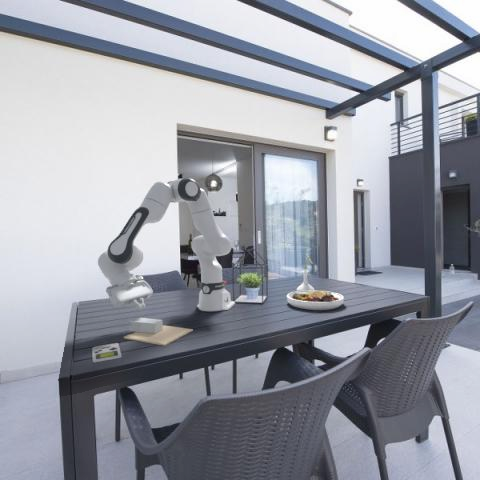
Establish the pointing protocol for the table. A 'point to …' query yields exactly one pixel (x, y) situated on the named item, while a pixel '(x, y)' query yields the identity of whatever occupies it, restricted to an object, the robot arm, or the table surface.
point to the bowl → (315, 300)
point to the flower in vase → (305, 279)
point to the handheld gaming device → (106, 352)
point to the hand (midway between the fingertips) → (142, 308)
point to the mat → (160, 335)
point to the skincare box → (146, 325)
